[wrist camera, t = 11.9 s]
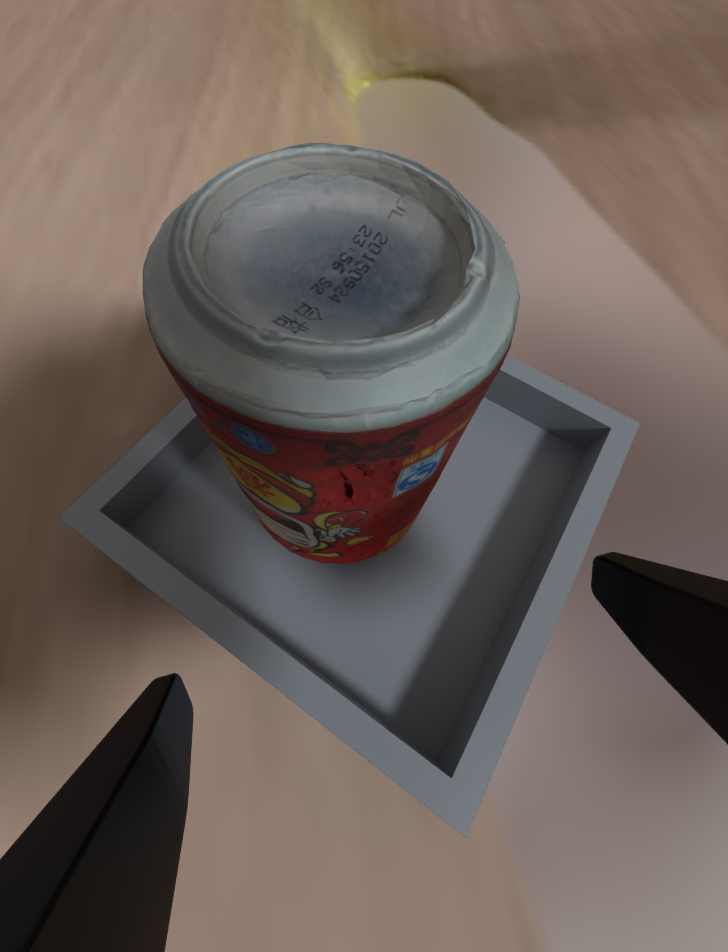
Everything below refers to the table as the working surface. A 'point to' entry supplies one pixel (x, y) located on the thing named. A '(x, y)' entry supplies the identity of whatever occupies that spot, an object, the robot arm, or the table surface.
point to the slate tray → (385, 579)
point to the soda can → (332, 335)
